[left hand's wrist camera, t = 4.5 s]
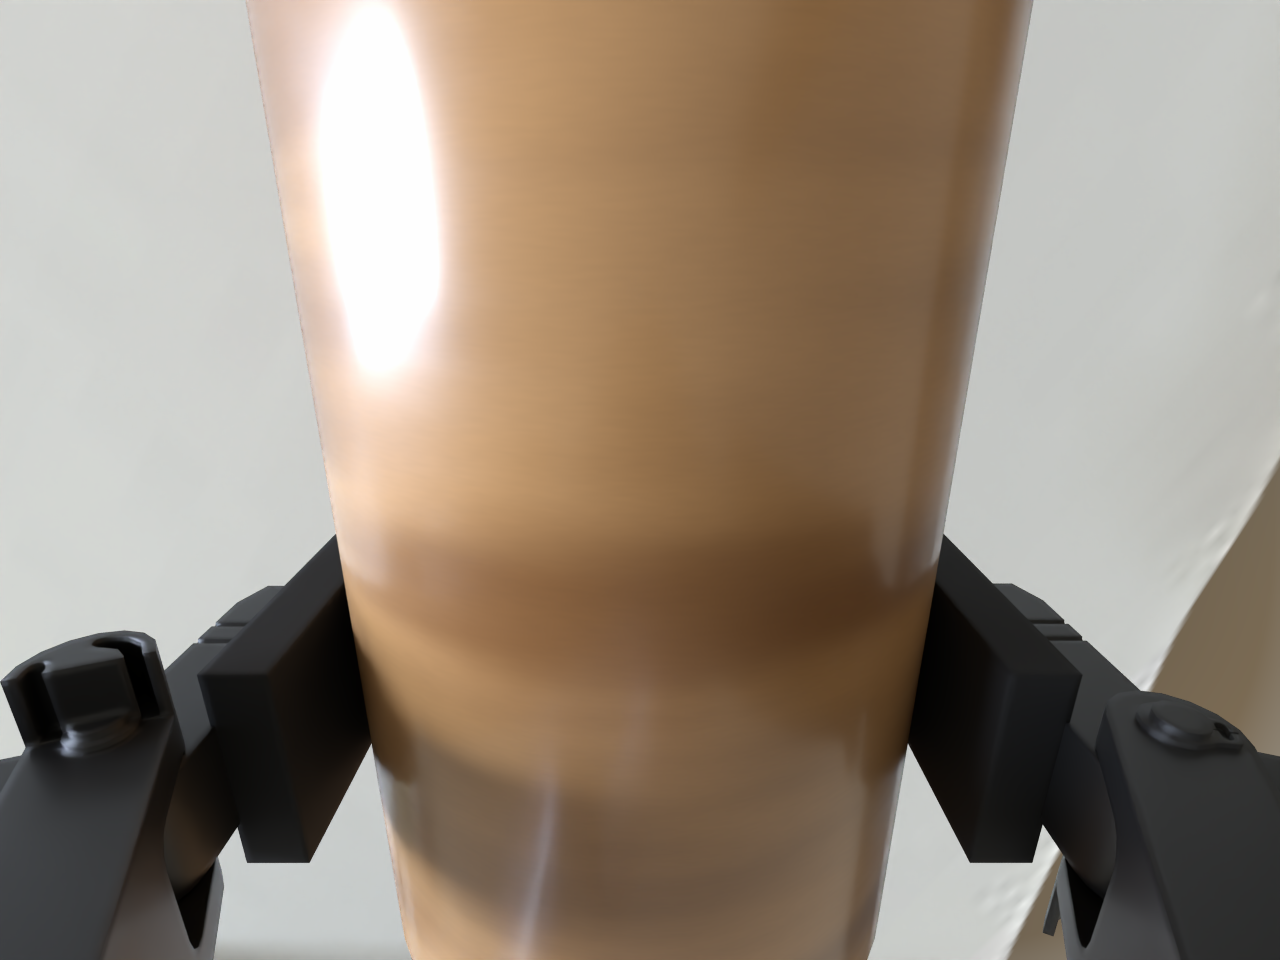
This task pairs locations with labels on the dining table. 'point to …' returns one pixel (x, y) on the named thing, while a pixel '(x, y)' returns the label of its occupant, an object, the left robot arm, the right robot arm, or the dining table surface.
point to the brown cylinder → (639, 438)
